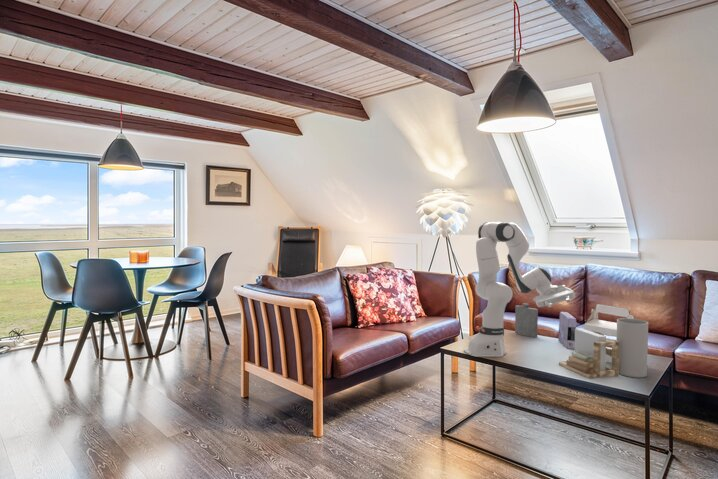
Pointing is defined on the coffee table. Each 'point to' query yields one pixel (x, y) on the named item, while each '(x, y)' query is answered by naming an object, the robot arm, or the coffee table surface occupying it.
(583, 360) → the offcut stack
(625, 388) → the coffee table surface
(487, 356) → the robot arm
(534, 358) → the coffee table surface
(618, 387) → the coffee table surface
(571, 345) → the cake pan box
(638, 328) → the cylinder vase
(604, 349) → the tall board
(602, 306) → the gable box
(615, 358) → the rack
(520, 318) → the hip flask
